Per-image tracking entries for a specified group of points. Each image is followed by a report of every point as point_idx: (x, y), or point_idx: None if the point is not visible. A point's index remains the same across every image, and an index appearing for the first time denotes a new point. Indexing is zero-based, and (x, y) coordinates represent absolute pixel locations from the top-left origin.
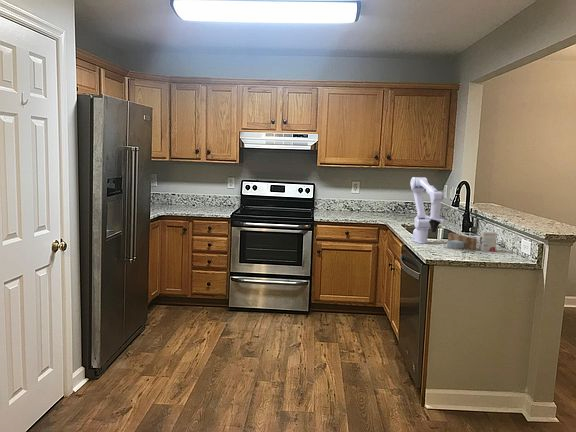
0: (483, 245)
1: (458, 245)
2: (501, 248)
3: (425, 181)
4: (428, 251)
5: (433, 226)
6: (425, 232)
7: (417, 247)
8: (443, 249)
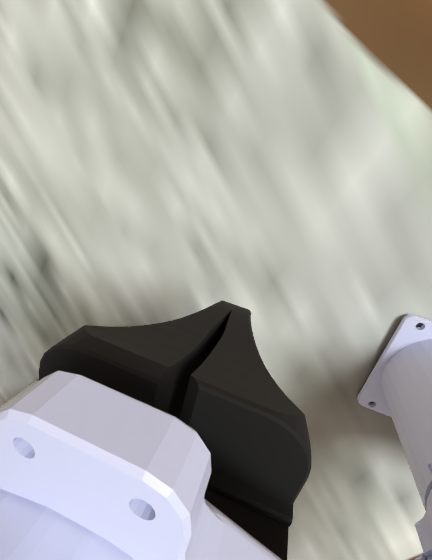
0: (6, 402)
1: None
2: None
3: None
4: (169, 17)
5: (177, 324)
6: (428, 437)
7: (348, 95)
8: (155, 239)
